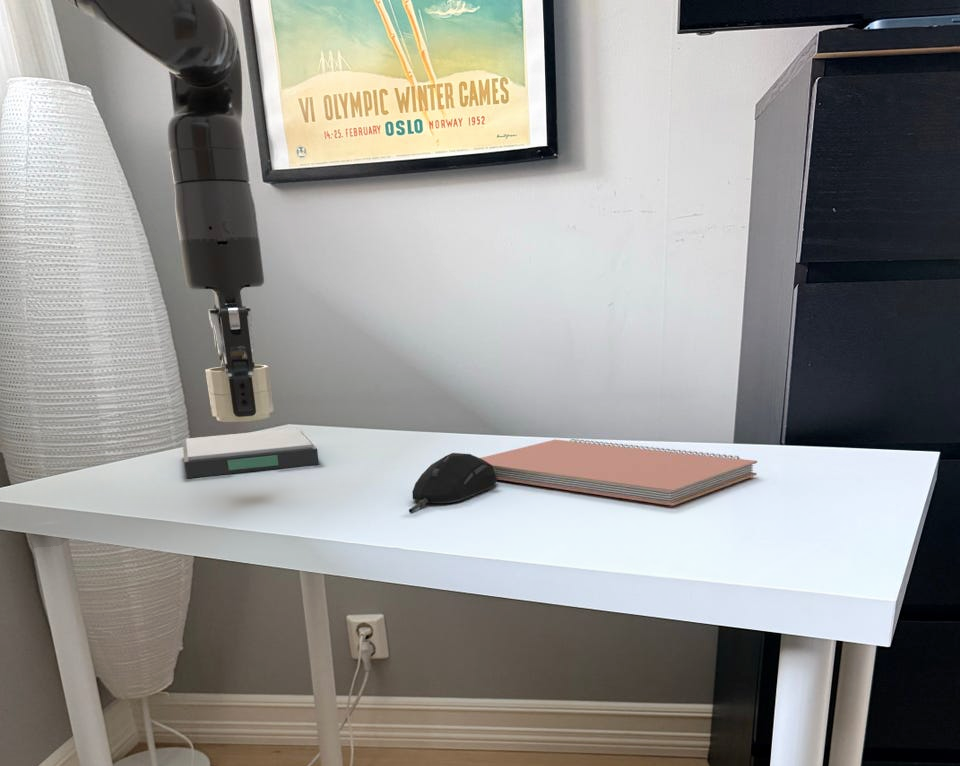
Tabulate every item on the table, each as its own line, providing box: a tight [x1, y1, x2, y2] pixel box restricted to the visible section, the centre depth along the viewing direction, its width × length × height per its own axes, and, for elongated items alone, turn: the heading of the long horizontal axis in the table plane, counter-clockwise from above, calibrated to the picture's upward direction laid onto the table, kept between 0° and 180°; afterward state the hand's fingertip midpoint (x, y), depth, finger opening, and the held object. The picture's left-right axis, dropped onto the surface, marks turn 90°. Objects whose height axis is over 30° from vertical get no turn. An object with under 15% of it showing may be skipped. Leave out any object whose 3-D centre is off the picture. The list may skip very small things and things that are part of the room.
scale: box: [182, 427, 320, 479], centre depth 121 cm, size 16×16×2 cm
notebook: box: [480, 438, 758, 506], centre depth 101 cm, size 27×17×2 cm, turn 46°
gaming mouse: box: [408, 452, 498, 514], centre depth 96 cm, size 6×15×4 cm, turn 152°
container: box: [205, 364, 275, 423], centre depth 95 cm, size 6×6×5 cm
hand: (242, 411), depth 96 cm, fingers closed on container, 6 cm apart
